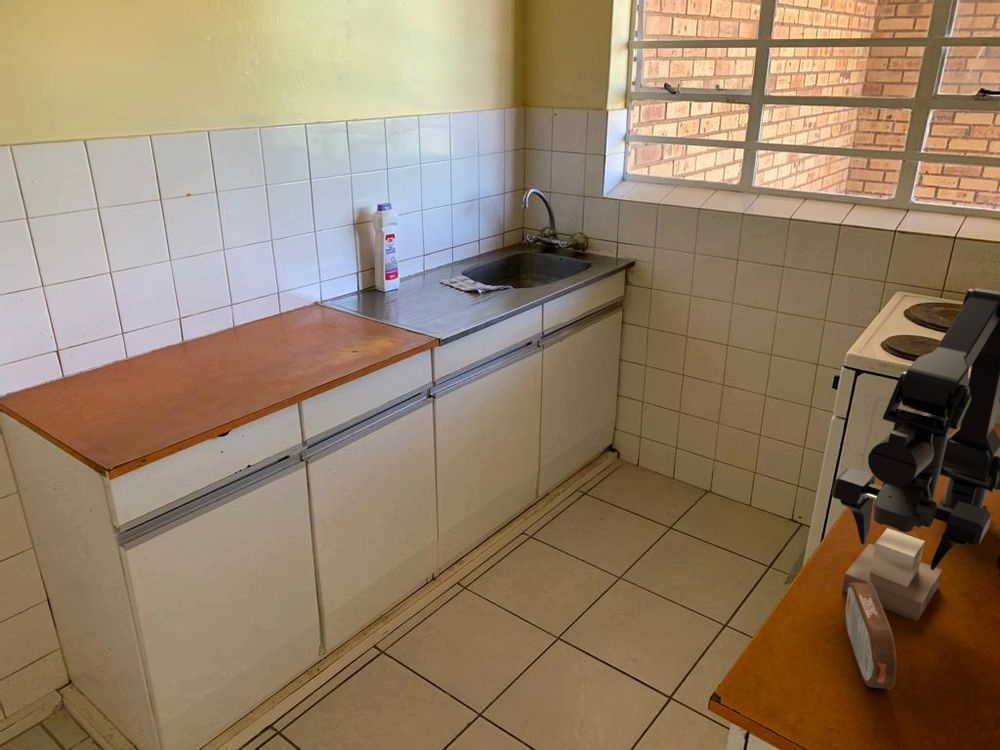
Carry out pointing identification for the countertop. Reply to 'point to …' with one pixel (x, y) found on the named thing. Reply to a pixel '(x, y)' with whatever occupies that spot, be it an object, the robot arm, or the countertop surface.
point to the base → (896, 586)
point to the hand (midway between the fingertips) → (897, 555)
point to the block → (897, 557)
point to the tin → (870, 636)
